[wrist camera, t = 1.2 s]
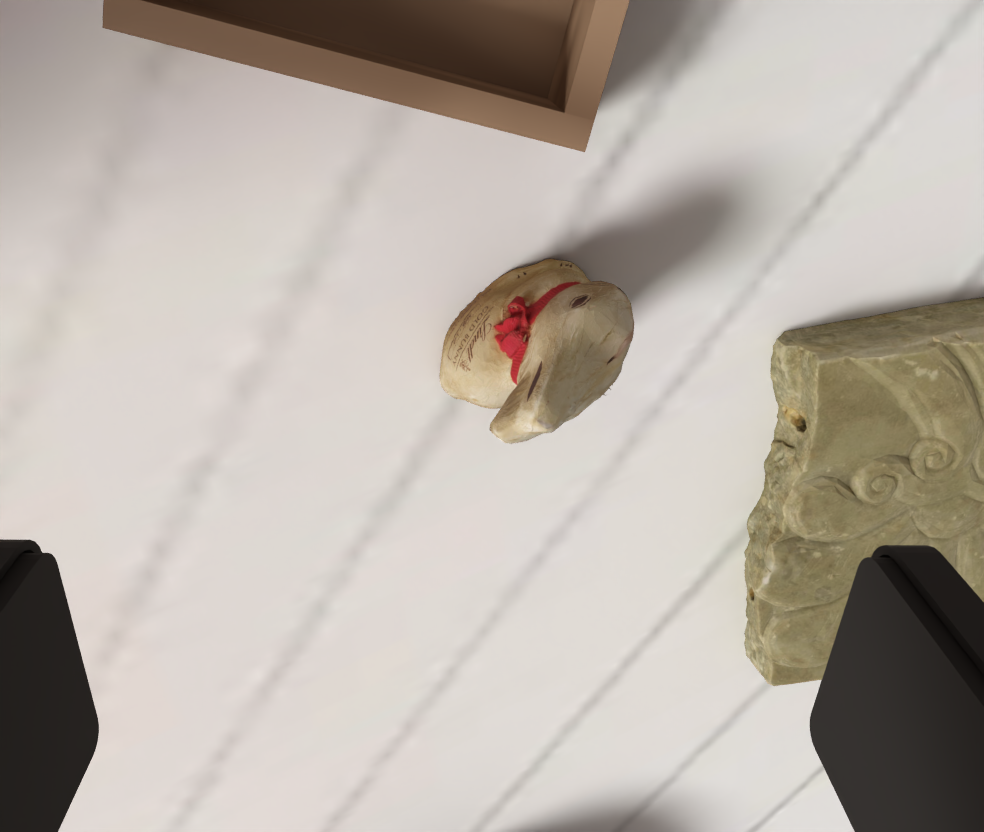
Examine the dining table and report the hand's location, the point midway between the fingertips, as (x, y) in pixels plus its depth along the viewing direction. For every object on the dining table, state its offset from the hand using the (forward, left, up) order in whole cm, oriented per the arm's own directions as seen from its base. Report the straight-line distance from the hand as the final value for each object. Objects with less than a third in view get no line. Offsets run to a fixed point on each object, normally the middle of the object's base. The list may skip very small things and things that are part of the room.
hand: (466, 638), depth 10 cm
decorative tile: (-9, -27, -26) cm, 38 cm away
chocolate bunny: (-5, -5, -25) cm, 26 cm away
